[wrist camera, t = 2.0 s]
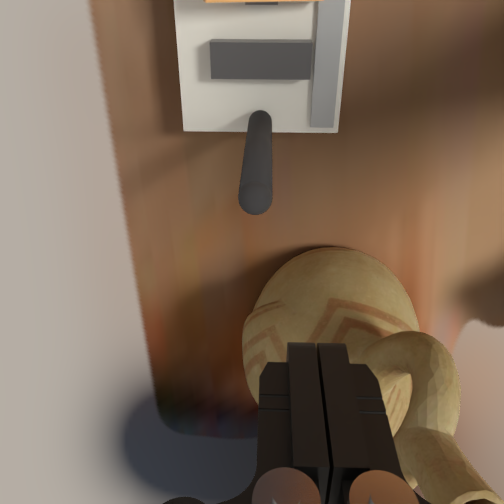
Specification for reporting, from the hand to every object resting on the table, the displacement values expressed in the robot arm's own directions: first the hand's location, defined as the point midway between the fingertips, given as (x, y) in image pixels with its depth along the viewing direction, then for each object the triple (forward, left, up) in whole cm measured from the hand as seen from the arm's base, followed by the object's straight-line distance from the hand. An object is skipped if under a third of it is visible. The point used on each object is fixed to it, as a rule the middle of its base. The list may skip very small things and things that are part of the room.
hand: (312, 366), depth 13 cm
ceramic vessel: (+8, +17, -27) cm, 33 cm away
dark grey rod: (+2, -1, -24) cm, 24 cm away
